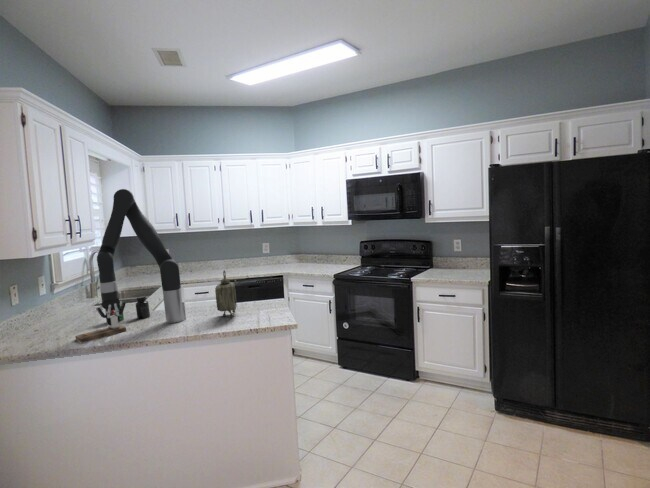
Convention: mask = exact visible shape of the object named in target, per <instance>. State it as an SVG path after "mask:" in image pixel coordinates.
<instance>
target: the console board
mask: <svg viewBox="0 0 650 488" xmlns="http://www.w3.org/2000/svg"><path fill="white" fill-rule="evenodd" d="M118 326H119V327H120V328H116V329H111V328H109V327H105V328H102V329H101V328H100V329H97V330H92V331H90V332H85V333H81V334H77V335H75V336H74V337H75V341H77V342H80V343H81V344H84V343H87V342H91V341H95V340H99V339H102V338H105V337H106V338H107V337H109V336H113V335H117V334H120V333H125V332H127V327H126V326H123V325H122V324H118Z"/></svg>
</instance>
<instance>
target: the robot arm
mask: <svg viewBox="0 0 650 488" xmlns="http://www.w3.org/2000/svg"><path fill="white" fill-rule="evenodd" d="M125 218H127V219H128V221H129V223H130V226H131V228H132V230H133V231H134V233H135V235H136V237H137V238H138V240H139V241H140V243H141V244H142V245H143V246H144V248H145V249H146V250H147V251H148V252H149V253H150V254H151V256H153V258H154V260H155V261H156V263H157V266H158V267H159V272H160V282H161V288H162V297H163V304H164V305H163V306H164V312H165V322H166V323H167V324H173V323H178V322H181V321H182V322H183V321H184V320H186V319H187V315H186V307H185V306H186V305H185V302H184V301H183V295H182V286H181V283H182V282H181V277H180V274H181V273H180V267H179V264H178V263H177V261H176V260H175V259H174V258H173V257H172V256H171V254H170V253H169V251H168V250H167V249H166V246H165V244H164V242H163V241H162V239H161V237H160V235H159V233H158V231H157V230H156V229H155V227H154V225H153V224H152V223H151V221H150V220H149V219H148V218H147V217H146V216H145V214H143V212H142V211H141V210H140V208H139V205H138V204H137V202H136V200H135V197H134V194H133V192H131V191H130V190H128V189H126V188H121V189H118V190H116V192H114V194H113V203H112V209H111V214H110V217H109V221H108V223H107V226H106V227H105V231H104V234H103V238H102V242H101V245H100V248H99V250H98V253H97V256H96V262H97V267H98V272H99V273H98V276H99V289H100V296H101V305H100V306H98V307H96V308H95V309H96V311H97V313H98V314H99V315H100V317H101V318H102V319H106V320H105V321H106V324H107V325H108V326H109V325H111V319H110V311H112V310H113V311H114V313H115V315H116V316H117V318H118V324H119V323H121V322H120V319H119V315H120V314H122V313H123V314H124V310H125V308H126V304H127V303H126V302H125V301H122V302H120V301H121V300H120V298H119V289H118V284H117V277H116V273H115V265H114V255H115V253H116V248H117V246H118V245H119V242H120V238H121V235H122V231H123V226H124V222H125ZM119 304H120V309H119V312H118V308H117V307H118V306H119ZM103 309H104V310H105V313H104V311H103Z"/></svg>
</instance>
